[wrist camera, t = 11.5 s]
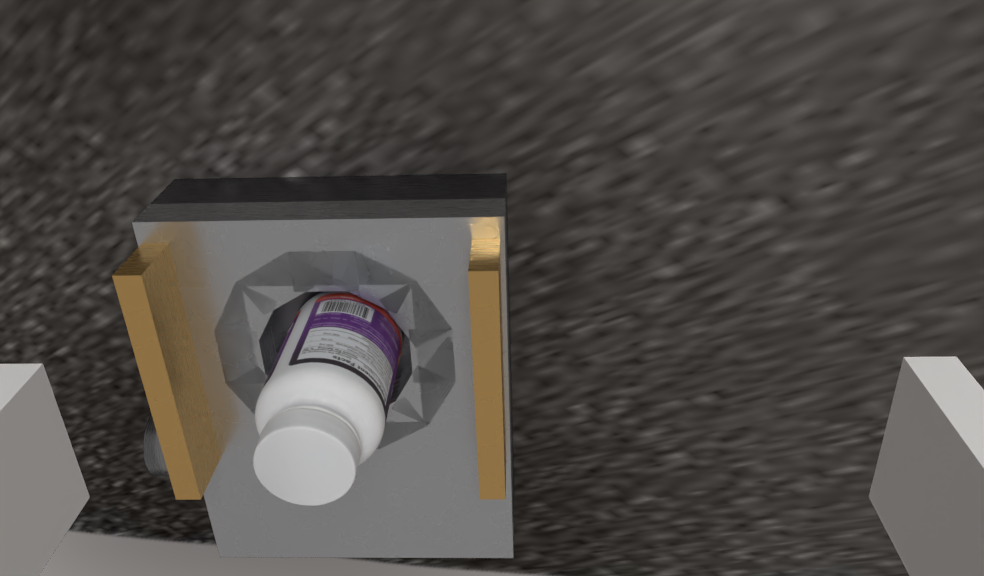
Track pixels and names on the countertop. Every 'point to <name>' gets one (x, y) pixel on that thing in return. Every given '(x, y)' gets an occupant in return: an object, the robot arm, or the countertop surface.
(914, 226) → the countertop surface
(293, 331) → the pill bottle
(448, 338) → the grey clamp fixture
